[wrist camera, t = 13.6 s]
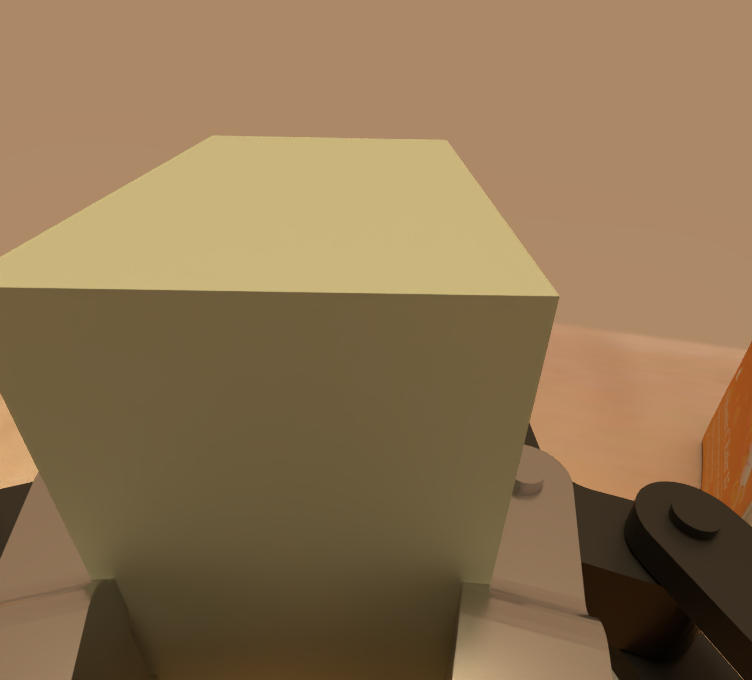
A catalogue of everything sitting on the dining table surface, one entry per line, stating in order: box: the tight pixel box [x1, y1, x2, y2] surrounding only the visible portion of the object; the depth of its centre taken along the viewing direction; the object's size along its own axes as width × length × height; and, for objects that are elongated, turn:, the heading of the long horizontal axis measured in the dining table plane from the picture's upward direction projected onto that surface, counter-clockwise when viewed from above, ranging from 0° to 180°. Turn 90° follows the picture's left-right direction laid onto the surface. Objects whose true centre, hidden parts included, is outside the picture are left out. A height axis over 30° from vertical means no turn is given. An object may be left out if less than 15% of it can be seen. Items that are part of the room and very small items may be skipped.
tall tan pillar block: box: [0, 136, 559, 680], centre depth 9 cm, size 4×6×11 cm, turn 0°
